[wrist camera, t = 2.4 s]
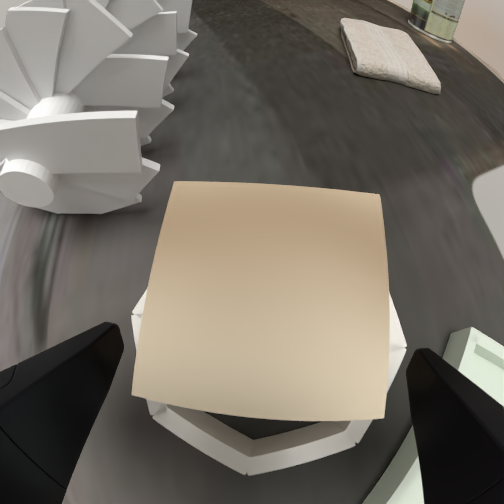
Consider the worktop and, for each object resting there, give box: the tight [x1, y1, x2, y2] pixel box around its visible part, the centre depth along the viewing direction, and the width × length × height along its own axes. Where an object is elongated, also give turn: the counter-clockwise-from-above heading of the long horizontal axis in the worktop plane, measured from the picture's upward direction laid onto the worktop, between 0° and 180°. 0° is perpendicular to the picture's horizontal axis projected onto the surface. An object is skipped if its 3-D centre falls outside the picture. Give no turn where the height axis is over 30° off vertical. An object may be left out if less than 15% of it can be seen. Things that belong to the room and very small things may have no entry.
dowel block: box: [132, 181, 390, 421], centre depth 11 cm, size 4×4×12 cm
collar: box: [131, 288, 407, 476], centre depth 14 cm, size 13×13×4 cm
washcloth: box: [340, 18, 441, 94], centre depth 28 cm, size 12×18×3 cm, turn 174°
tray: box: [362, 327, 504, 504], centre depth 9 cm, size 20×16×2 cm
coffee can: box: [408, 0, 465, 43], centre depth 29 cm, size 10×10×14 cm
